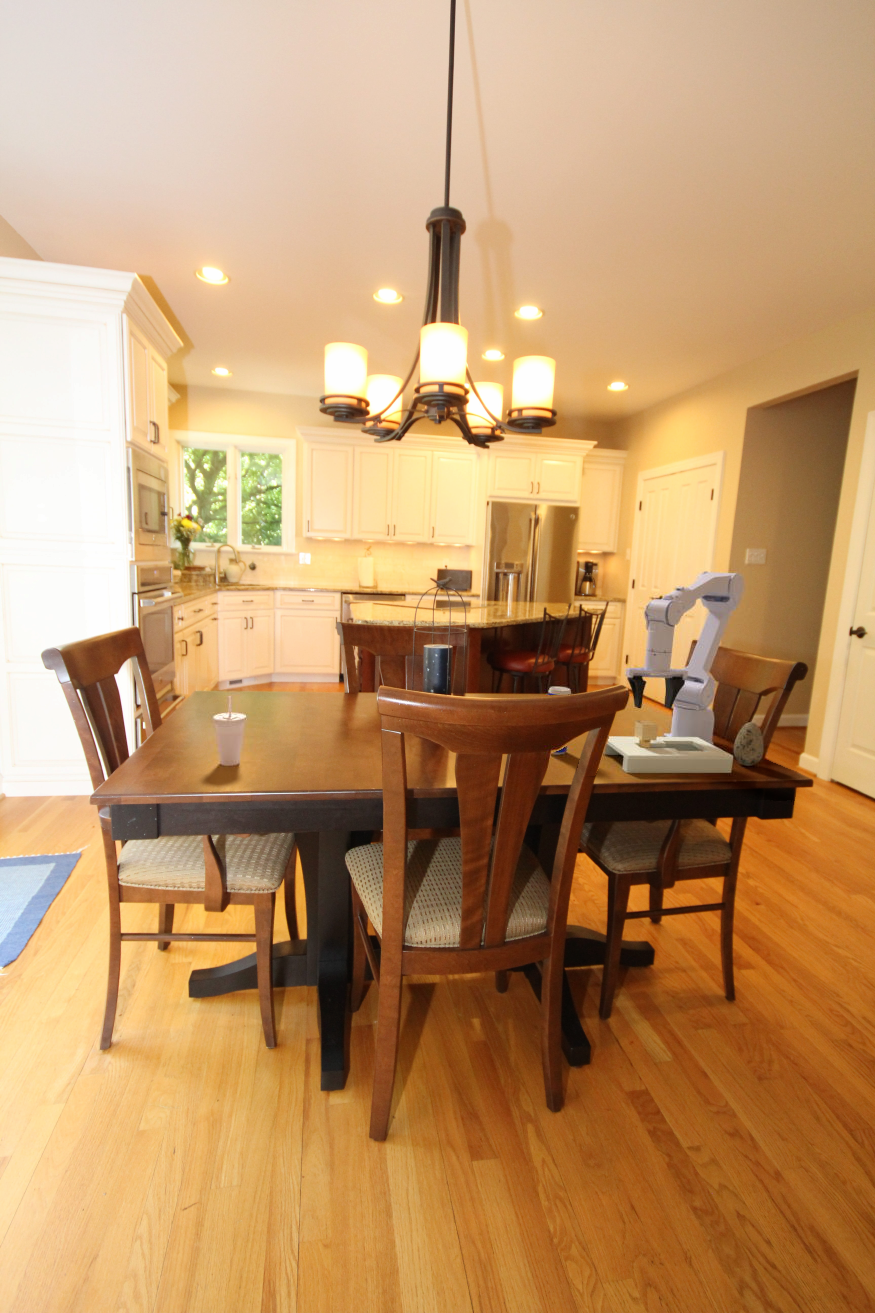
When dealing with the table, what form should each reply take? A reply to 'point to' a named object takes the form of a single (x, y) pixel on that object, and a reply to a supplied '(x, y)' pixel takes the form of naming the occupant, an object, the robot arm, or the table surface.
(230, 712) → the smoothie
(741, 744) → the decorative egg
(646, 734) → the keyhole peg
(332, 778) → the table surface
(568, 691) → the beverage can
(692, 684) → the robot arm
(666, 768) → the keyhole plate
